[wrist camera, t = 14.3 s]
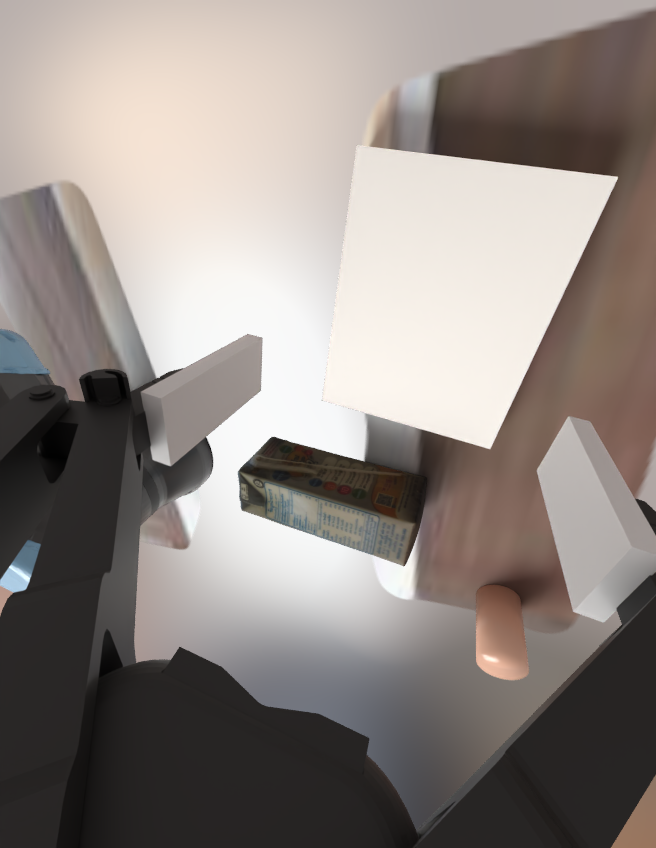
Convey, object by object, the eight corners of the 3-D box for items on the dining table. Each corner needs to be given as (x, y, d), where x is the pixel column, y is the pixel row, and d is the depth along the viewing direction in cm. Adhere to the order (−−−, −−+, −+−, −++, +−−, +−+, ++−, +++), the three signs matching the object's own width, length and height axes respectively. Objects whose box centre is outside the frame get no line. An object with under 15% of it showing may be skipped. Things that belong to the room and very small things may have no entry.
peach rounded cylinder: (470, 602, 46) (469, 666, 40) (484, 579, 43) (486, 643, 37) (510, 617, 45) (516, 686, 38) (527, 595, 42) (537, 664, 36)
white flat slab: (331, 388, 38) (321, 400, 35) (367, 151, 27) (356, 145, 24) (488, 432, 34) (490, 449, 32) (603, 180, 23) (618, 177, 21)
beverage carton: (272, 470, 46) (271, 428, 43) (420, 516, 41) (432, 472, 38) (238, 512, 40) (234, 466, 37) (408, 572, 35) (422, 526, 31)
